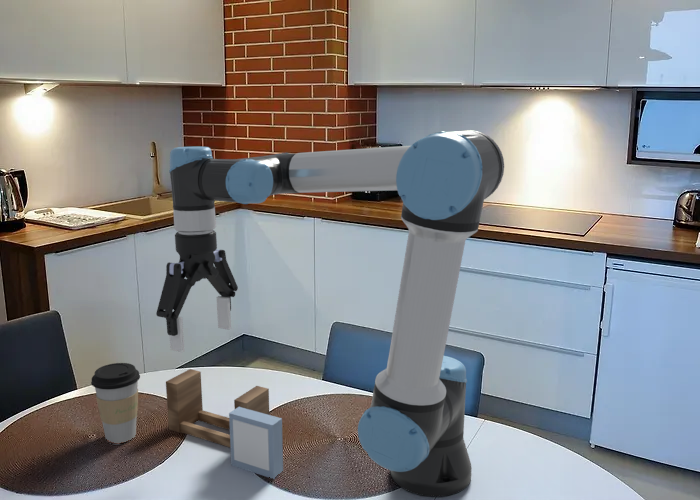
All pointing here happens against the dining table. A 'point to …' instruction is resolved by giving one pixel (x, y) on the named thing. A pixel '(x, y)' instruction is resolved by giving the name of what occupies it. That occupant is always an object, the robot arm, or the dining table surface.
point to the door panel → (256, 442)
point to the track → (189, 410)
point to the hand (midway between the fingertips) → (202, 339)
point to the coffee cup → (117, 400)
